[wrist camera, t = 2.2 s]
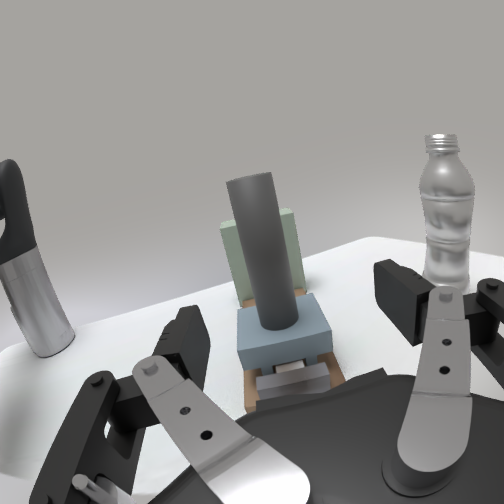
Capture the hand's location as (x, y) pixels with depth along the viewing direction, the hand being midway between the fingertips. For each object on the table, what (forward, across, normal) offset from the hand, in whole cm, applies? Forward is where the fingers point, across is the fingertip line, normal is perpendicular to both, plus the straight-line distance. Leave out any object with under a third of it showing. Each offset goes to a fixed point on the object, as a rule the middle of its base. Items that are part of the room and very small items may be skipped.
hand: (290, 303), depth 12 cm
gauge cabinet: (+28, +1, +13) cm, 31 cm away
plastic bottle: (+13, -19, +14) cm, 27 cm away
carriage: (+12, +1, +12) cm, 16 cm away
